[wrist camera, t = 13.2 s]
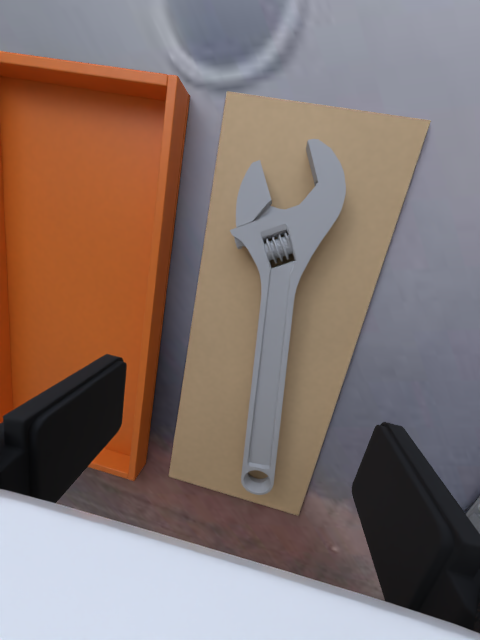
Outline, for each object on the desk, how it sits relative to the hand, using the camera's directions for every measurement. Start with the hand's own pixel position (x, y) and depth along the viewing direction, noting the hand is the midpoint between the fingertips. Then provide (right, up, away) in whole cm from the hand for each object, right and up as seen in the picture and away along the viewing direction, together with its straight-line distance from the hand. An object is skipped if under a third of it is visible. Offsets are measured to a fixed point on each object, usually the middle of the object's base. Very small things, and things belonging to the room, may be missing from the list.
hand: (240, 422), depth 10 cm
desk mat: (+2, +2, +10) cm, 11 cm away
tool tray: (-13, +6, +12) cm, 18 cm away
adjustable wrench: (+2, +2, +10) cm, 11 cm away
